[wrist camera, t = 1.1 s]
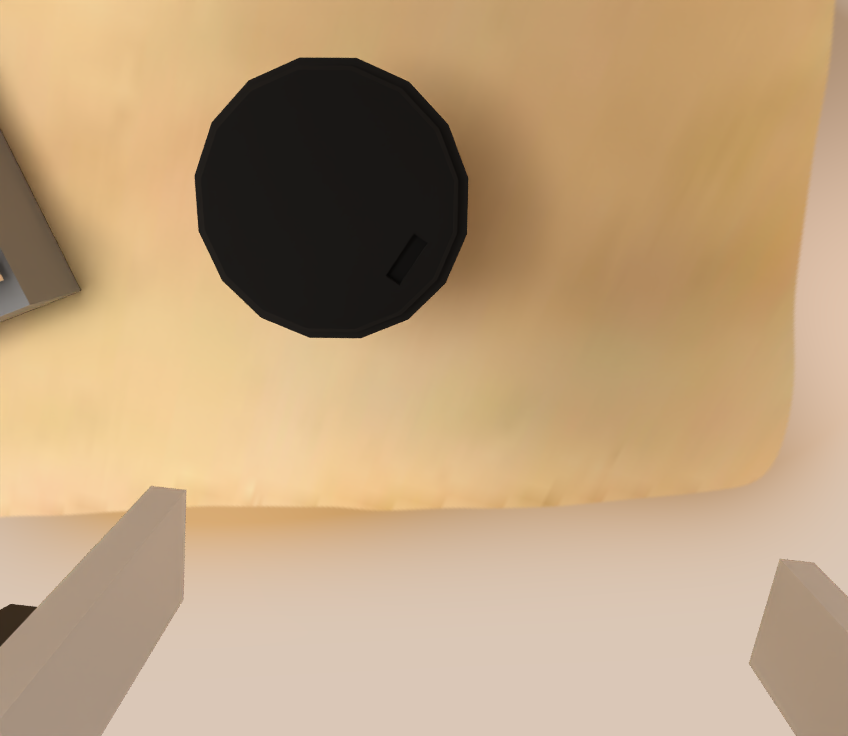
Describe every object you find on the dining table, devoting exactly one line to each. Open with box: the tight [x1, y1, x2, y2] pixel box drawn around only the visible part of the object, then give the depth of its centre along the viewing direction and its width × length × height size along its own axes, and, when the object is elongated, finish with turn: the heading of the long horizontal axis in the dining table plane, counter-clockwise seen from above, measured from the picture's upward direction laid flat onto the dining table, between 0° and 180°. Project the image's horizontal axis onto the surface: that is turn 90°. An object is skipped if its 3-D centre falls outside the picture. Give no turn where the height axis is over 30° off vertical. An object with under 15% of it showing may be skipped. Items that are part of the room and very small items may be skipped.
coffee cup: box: [195, 58, 468, 338], centre depth 31 cm, size 11×11×12 cm
